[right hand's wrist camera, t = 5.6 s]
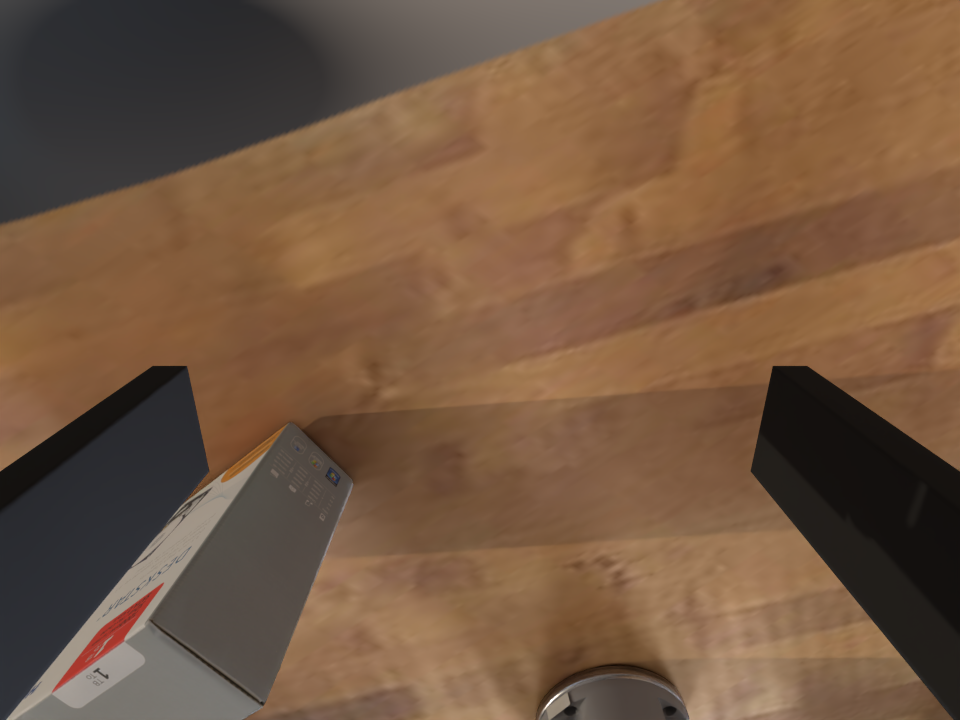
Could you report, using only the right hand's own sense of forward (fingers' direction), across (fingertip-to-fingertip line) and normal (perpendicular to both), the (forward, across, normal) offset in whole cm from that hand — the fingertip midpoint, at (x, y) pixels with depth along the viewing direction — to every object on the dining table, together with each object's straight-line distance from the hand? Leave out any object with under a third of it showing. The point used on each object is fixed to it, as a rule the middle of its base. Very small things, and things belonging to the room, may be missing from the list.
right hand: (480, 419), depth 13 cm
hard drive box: (+28, +19, +22) cm, 40 cm away
